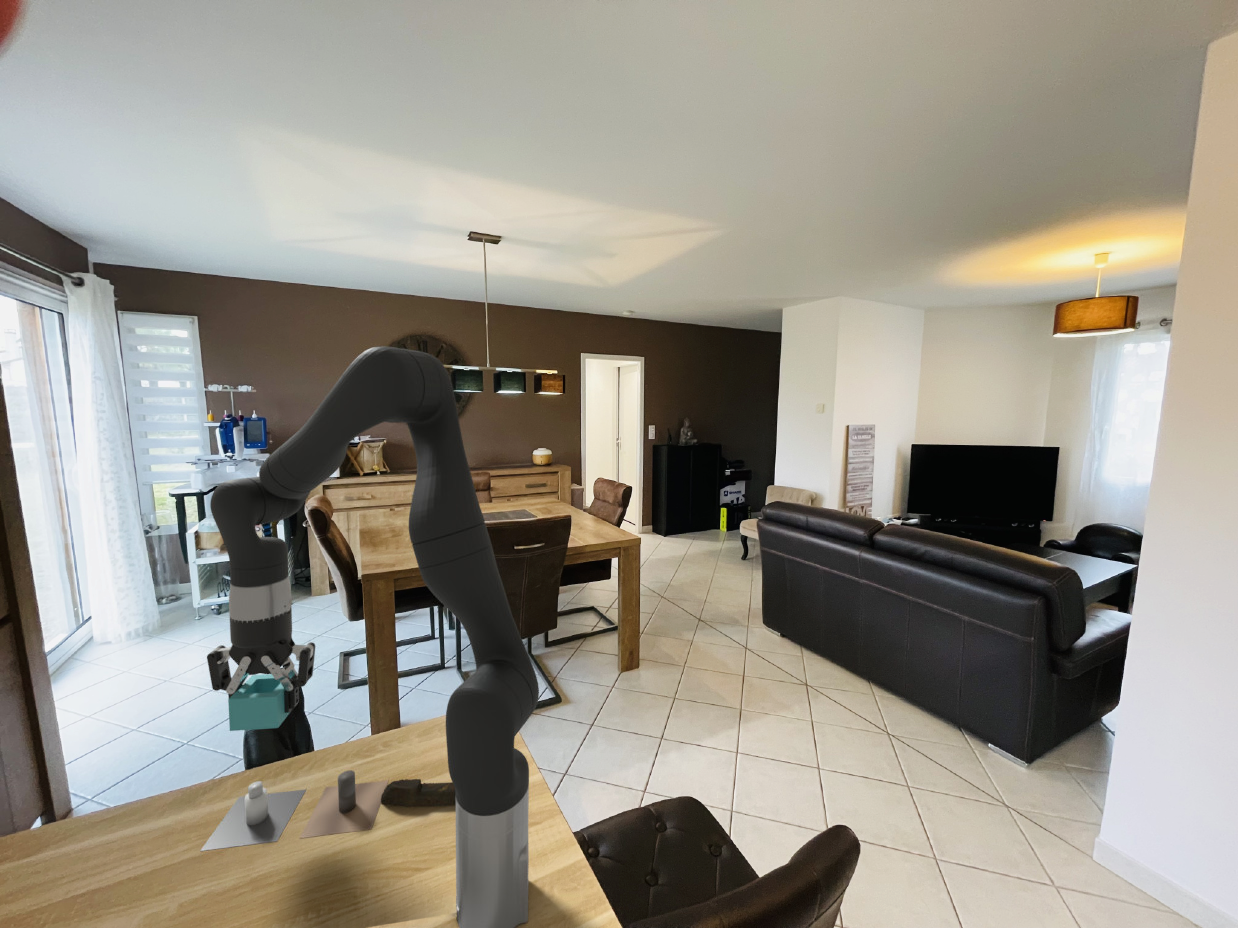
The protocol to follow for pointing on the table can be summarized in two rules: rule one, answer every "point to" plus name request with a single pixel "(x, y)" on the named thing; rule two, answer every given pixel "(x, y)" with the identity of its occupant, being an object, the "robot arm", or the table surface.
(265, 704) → the collar
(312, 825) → the rod stand
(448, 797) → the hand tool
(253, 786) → the grey peg base
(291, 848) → the table surface
